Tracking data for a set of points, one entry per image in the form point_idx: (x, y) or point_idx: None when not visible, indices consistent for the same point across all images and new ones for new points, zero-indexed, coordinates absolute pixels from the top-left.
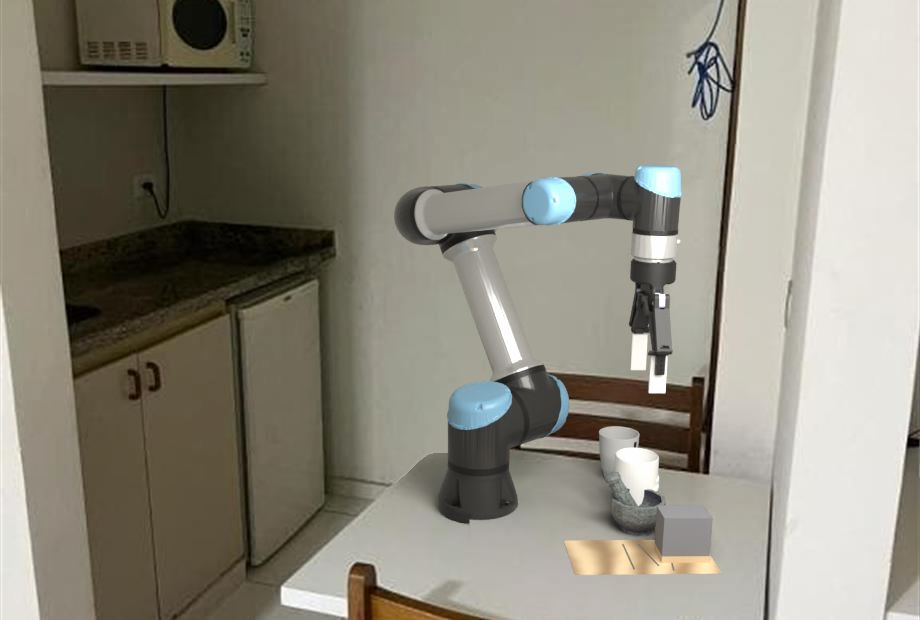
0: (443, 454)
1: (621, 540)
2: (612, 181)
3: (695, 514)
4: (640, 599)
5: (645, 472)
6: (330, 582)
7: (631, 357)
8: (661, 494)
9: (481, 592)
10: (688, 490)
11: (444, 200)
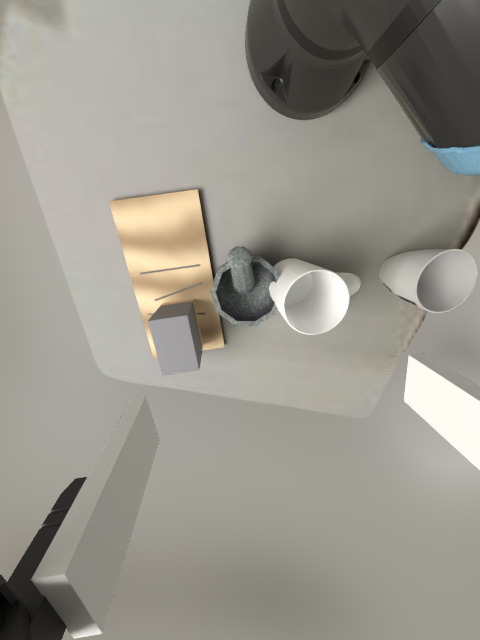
0: None
1: (209, 264)
2: None
3: (168, 358)
4: (91, 275)
5: (280, 310)
6: None
7: (451, 382)
8: (260, 322)
9: (43, 63)
10: (356, 348)
11: None
